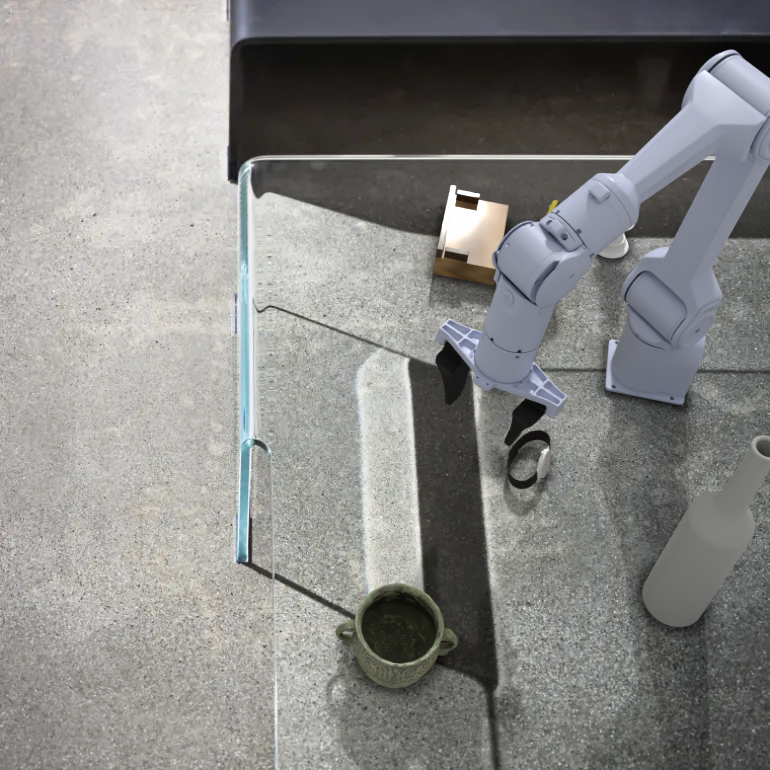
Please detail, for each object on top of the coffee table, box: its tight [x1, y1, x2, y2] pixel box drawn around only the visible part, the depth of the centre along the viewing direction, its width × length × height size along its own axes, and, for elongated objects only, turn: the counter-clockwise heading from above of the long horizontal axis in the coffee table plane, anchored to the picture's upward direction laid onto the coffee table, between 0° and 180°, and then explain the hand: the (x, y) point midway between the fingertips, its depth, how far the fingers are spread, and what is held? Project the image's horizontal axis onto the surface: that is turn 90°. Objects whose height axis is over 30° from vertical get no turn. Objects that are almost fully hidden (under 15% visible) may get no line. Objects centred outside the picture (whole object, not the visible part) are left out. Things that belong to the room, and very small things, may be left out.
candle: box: [597, 223, 636, 259], centre depth 149 cm, size 5×5×12 cm
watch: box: [506, 429, 552, 490], centre depth 129 cm, size 8×5×4 cm, turn 155°
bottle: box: [641, 434, 770, 628], centre depth 111 cm, size 7×7×28 cm
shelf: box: [432, 185, 510, 286], centre depth 149 cm, size 8×12×4 cm, turn 170°
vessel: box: [334, 582, 459, 689], centre depth 113 cm, size 12×9×6 cm
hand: (481, 419), depth 121 cm, fingers open, 7 cm apart
